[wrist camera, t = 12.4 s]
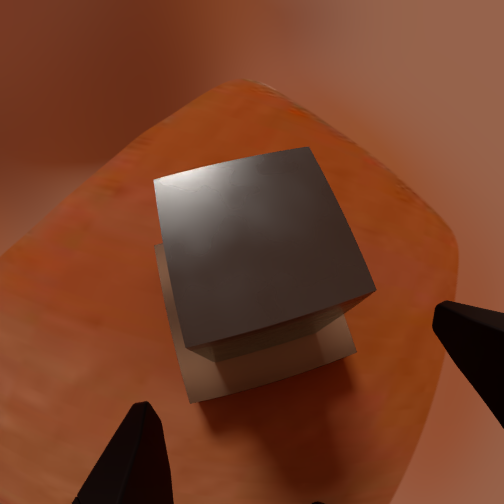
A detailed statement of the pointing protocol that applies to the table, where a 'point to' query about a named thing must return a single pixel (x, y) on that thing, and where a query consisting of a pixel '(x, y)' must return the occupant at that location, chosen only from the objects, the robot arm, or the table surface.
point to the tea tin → (257, 253)
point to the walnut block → (250, 354)
